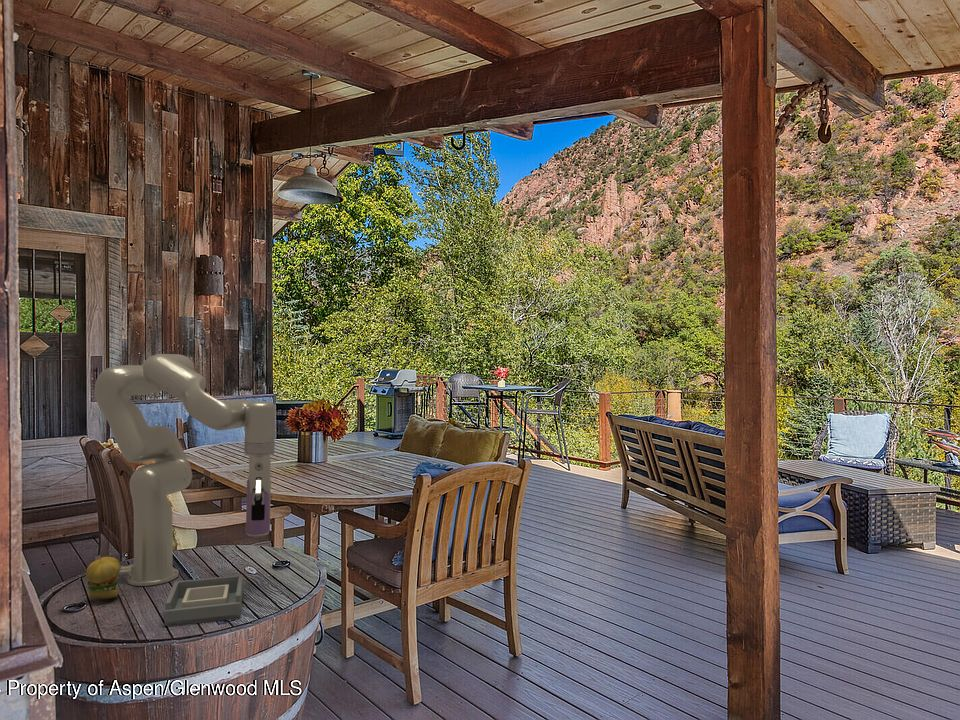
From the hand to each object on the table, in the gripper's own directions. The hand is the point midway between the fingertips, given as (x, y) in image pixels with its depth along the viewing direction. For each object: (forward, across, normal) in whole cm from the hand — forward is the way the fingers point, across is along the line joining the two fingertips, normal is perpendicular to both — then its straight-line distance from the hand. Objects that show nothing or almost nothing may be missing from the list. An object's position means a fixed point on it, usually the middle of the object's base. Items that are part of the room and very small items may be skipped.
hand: (258, 516), depth 168 cm
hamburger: (+20, +2, +36) cm, 41 cm away
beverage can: (+5, 0, 0) cm, 5 cm away
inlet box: (+19, -12, +11) cm, 25 cm away
